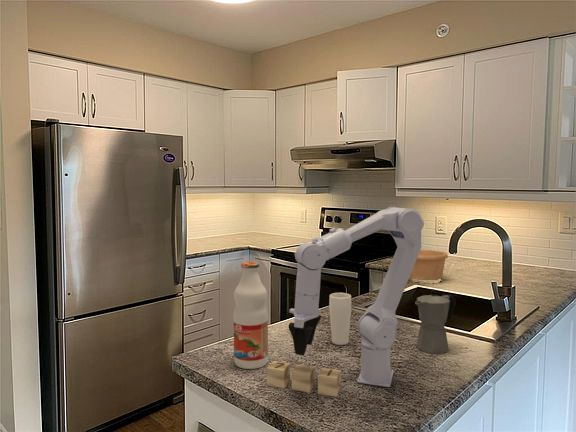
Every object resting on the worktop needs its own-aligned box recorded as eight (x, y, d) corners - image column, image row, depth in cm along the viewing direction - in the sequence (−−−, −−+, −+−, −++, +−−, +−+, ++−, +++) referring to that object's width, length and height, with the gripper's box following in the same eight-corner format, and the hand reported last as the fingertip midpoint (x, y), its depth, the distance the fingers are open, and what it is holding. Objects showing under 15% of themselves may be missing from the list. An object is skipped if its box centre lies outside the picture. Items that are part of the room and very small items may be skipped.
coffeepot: (426, 357, 123) (427, 295, 122) (404, 346, 132) (405, 288, 131) (466, 349, 130) (467, 289, 129) (442, 338, 138) (444, 283, 137)
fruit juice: (275, 363, 120) (274, 262, 118) (248, 373, 114) (247, 267, 112) (253, 353, 127) (252, 258, 125) (227, 362, 121) (225, 262, 119)
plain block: (297, 381, 109) (297, 364, 108) (314, 384, 107) (314, 366, 107) (291, 389, 105) (291, 371, 104) (309, 392, 103) (309, 374, 103)
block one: (322, 385, 107) (322, 367, 106) (340, 388, 105) (340, 370, 105) (317, 394, 102) (317, 375, 102) (336, 397, 101) (336, 377, 101)
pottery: (445, 277, 230) (445, 250, 229) (448, 286, 209) (449, 257, 208) (403, 275, 236) (403, 249, 235) (401, 284, 215) (402, 255, 214)
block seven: (273, 378, 111) (273, 360, 111) (290, 380, 109) (290, 363, 109) (266, 385, 107) (266, 367, 106) (284, 388, 105) (283, 370, 105)
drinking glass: (324, 342, 135) (324, 295, 134) (337, 337, 140) (337, 291, 139) (342, 348, 131) (342, 299, 130) (355, 342, 136) (355, 295, 134)
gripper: (298, 285, 112) (295, 337, 112) (283, 297, 98) (279, 356, 98) (325, 288, 110) (321, 341, 111) (313, 301, 96) (309, 361, 97)
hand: (303, 349), depth 104 cm, fingers open, 7 cm apart
